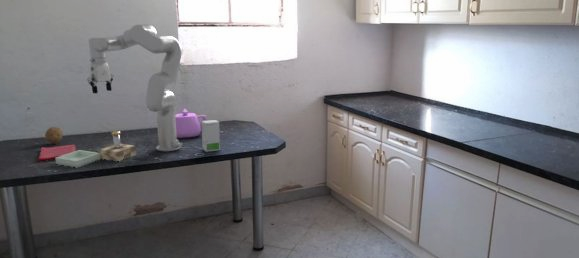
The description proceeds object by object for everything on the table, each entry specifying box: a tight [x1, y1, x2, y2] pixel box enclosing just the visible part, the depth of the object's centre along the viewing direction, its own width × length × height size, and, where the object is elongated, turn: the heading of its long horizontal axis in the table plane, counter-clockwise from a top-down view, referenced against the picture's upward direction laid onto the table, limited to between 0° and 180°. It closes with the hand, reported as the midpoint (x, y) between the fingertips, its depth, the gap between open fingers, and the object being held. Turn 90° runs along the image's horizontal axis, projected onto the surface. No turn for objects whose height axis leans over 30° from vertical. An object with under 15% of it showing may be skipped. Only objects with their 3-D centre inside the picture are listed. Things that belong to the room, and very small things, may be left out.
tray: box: [55, 149, 101, 169], centre depth 214 cm, size 14×14×4 cm
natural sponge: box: [44, 126, 64, 145], centre depth 245 cm, size 9×9×10 cm
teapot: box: [175, 108, 208, 139], centre depth 264 cm, size 23×21×15 cm
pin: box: [111, 130, 122, 149], centre depth 220 cm, size 4×4×13 cm
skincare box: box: [200, 119, 221, 153], centre depth 232 cm, size 8×7×16 cm
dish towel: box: [37, 144, 76, 162], centre depth 228 cm, size 17×24×3 cm
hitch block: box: [99, 143, 137, 162], centre depth 221 cm, size 12×12×5 cm
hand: (102, 91), depth 241 cm, fingers open, 9 cm apart
